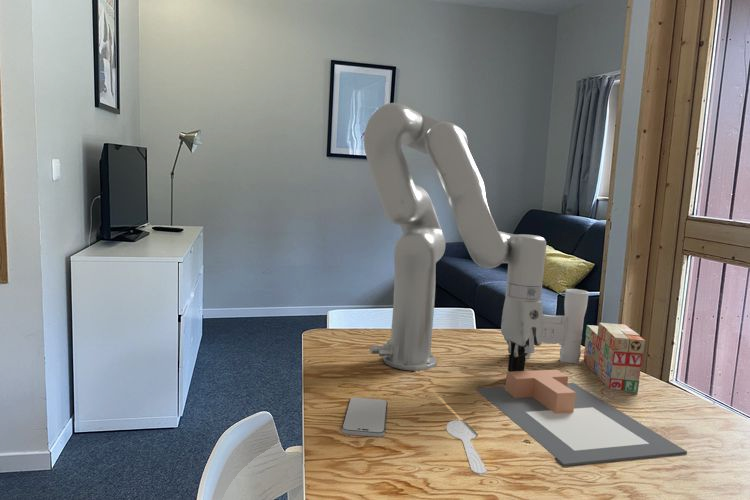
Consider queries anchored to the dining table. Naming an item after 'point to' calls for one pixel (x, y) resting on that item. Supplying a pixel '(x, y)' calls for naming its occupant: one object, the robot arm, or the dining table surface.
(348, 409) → the smartphone
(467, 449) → the spoon
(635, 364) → the stack of blocks
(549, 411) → the mat
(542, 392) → the t block
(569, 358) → the binoculars
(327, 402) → the dining table surface
